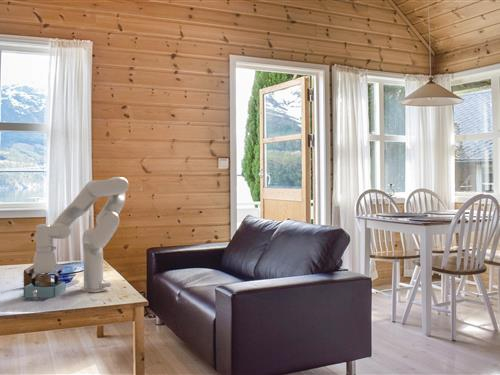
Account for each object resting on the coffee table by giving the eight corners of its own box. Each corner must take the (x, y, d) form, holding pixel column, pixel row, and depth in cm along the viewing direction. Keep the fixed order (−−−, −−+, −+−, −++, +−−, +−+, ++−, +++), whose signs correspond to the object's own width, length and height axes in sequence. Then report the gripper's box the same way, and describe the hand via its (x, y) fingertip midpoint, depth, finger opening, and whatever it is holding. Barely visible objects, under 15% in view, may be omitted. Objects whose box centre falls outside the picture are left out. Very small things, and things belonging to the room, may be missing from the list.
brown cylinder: (49, 292, 249) (49, 274, 249) (51, 294, 244) (50, 276, 244) (38, 293, 246) (38, 275, 246) (39, 295, 242) (39, 277, 242)
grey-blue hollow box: (50, 299, 238) (50, 288, 238) (43, 303, 231) (43, 292, 231) (26, 299, 238) (26, 288, 238) (19, 303, 231) (19, 291, 231)
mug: (46, 284, 271) (46, 266, 270) (49, 287, 264) (49, 269, 264) (22, 287, 264) (22, 269, 264) (24, 289, 258) (24, 271, 257)
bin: (65, 292, 252) (65, 281, 252) (55, 299, 239) (55, 287, 239) (35, 292, 252) (35, 281, 252) (23, 298, 239) (23, 287, 239)
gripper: (62, 247, 252) (62, 281, 253) (24, 249, 244) (24, 285, 244) (64, 249, 246) (65, 284, 246) (26, 252, 237) (26, 288, 238)
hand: (45, 284), depth 245 cm, fingers open, 9 cm apart
